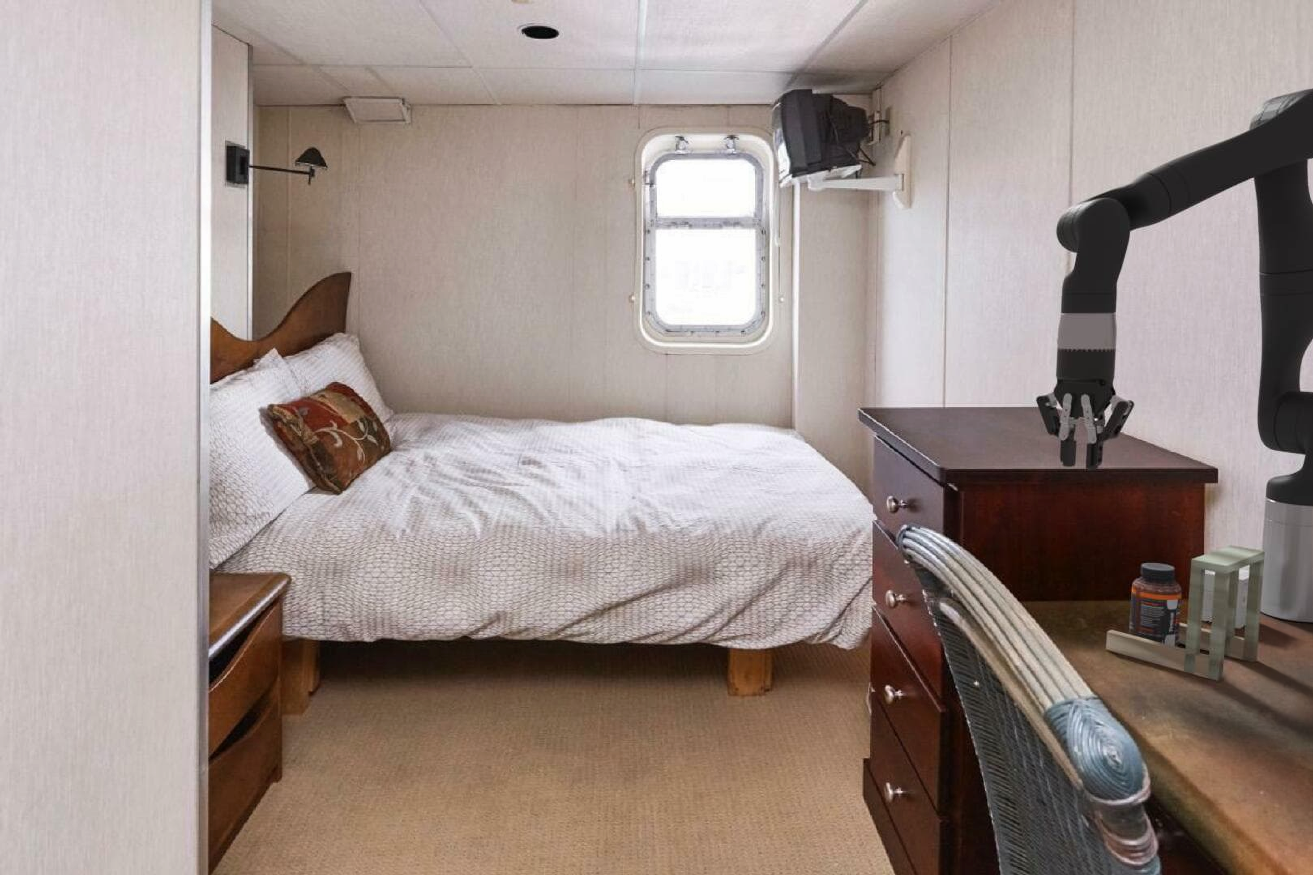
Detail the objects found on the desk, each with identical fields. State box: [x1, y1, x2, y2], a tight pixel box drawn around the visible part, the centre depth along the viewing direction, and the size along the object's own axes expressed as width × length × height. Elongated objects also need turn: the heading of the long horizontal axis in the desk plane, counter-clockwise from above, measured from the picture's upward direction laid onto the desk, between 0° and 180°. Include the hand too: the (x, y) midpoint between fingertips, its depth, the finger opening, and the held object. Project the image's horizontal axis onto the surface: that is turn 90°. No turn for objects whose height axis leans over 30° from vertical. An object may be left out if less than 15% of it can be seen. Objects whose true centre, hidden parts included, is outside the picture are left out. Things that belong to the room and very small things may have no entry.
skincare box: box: [1202, 568, 1249, 629], centre depth 138 cm, size 6×6×7 cm
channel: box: [1105, 545, 1265, 682], centre depth 124 cm, size 11×14×14 cm
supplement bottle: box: [1128, 562, 1183, 647], centre depth 127 cm, size 6×6×11 cm
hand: (1080, 467), depth 134 cm, fingers open, 3 cm apart
